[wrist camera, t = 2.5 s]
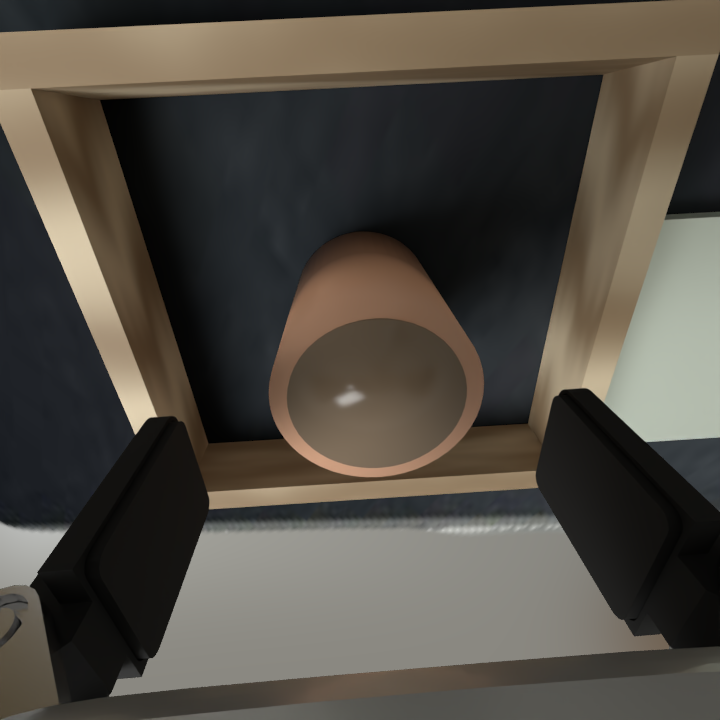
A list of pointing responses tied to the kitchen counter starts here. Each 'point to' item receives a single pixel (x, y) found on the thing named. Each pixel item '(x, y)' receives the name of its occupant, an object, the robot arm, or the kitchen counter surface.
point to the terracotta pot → (372, 362)
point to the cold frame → (360, 69)
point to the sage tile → (674, 337)
